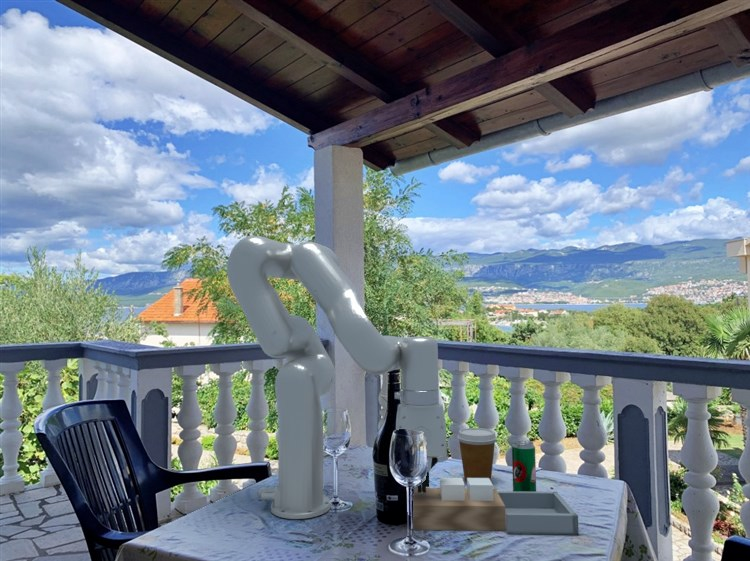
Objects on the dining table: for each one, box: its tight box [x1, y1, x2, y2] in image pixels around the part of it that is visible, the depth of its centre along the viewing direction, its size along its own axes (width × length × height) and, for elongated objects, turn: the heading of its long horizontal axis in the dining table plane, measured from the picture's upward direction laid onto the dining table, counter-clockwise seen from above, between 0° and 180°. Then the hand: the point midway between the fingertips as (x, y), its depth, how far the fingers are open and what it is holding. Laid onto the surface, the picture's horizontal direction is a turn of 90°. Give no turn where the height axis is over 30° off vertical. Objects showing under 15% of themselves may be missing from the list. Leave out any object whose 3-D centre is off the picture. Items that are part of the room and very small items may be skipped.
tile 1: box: [439, 477, 466, 501], centre depth 103 cm, size 4×4×3 cm
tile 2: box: [466, 478, 494, 501], centre depth 103 cm, size 4×4×3 cm
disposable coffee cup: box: [457, 427, 497, 483], centre depth 127 cm, size 10×10×12 cm
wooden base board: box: [413, 487, 506, 532], centre depth 103 cm, size 18×10×4 cm, turn 87°
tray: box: [497, 490, 580, 536], centre depth 102 cm, size 13×13×4 cm
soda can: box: [511, 439, 537, 492], centre depth 116 cm, size 5×5×12 cm
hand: (421, 490), depth 104 cm, fingers closed
